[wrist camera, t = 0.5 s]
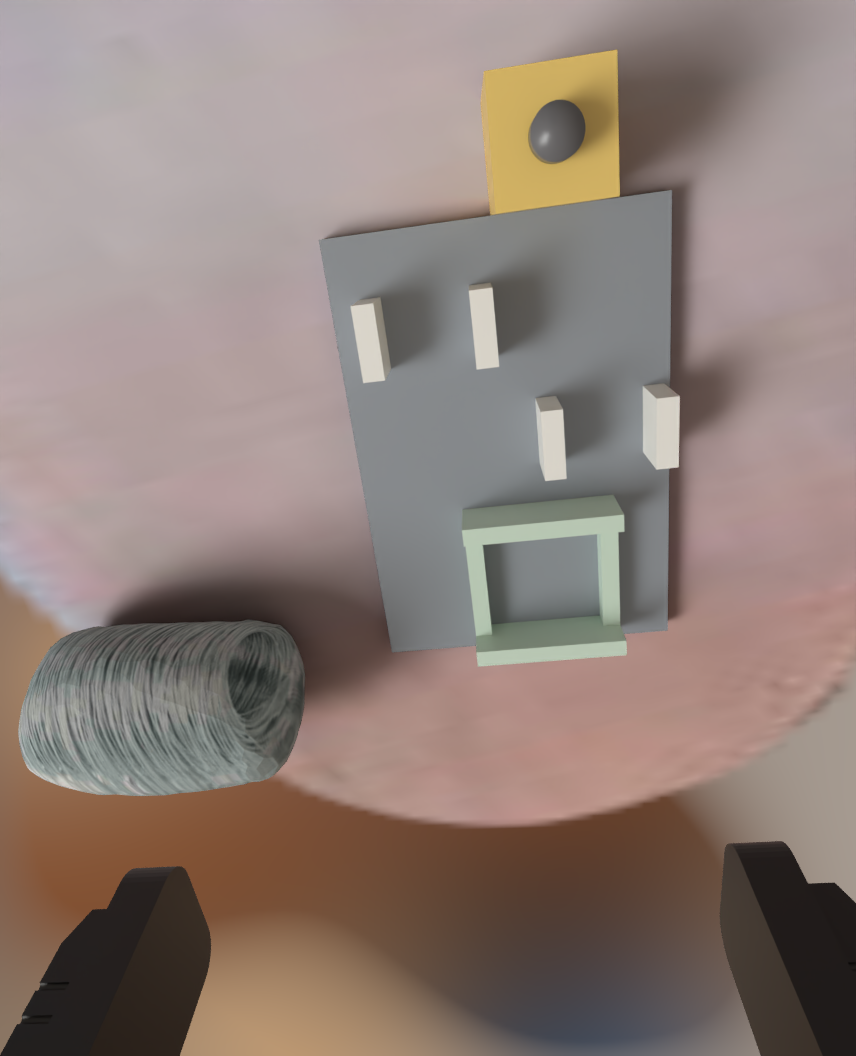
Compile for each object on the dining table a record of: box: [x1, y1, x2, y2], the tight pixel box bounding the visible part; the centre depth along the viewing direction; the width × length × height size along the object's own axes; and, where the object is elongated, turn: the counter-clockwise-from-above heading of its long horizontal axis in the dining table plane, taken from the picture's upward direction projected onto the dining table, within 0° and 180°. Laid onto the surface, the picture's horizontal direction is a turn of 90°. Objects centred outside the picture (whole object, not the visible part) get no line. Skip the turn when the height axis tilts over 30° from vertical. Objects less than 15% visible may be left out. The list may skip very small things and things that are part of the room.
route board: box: [319, 190, 672, 652], centre depth 32 cm, size 20×14×1 cm
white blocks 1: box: [350, 283, 499, 383], centre depth 28 cm, size 3×6×2 cm, turn 98°
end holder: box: [462, 495, 627, 666], centre depth 32 cm, size 7×7×2 cm
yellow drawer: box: [481, 50, 620, 216], centre depth 24 cm, size 4×4×7 cm
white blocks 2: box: [535, 383, 680, 481], centre depth 29 cm, size 3×6×2 cm, turn 98°
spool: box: [18, 619, 305, 796], centre depth 34 cm, size 14×10×10 cm
